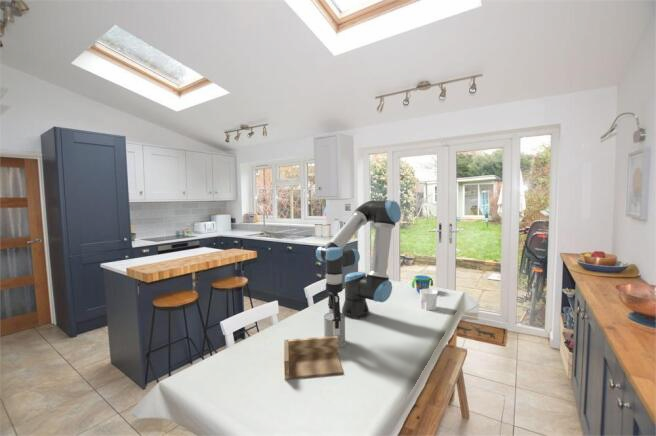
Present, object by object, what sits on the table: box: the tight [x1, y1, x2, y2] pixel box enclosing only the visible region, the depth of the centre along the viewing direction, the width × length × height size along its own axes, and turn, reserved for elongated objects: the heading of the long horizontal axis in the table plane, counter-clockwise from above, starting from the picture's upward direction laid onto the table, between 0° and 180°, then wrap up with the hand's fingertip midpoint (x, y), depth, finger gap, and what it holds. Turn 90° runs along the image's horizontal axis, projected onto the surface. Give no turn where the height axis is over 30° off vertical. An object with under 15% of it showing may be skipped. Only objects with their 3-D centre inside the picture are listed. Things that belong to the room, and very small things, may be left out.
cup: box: [419, 288, 438, 311], centre depth 181 cm, size 10×10×10 cm
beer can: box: [323, 312, 346, 348], centre depth 140 cm, size 10×10×12 cm
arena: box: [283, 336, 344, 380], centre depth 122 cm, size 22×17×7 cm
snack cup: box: [411, 274, 434, 293], centre depth 211 cm, size 16×10×10 cm
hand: (334, 328), depth 139 cm, fingers open, 13 cm apart
